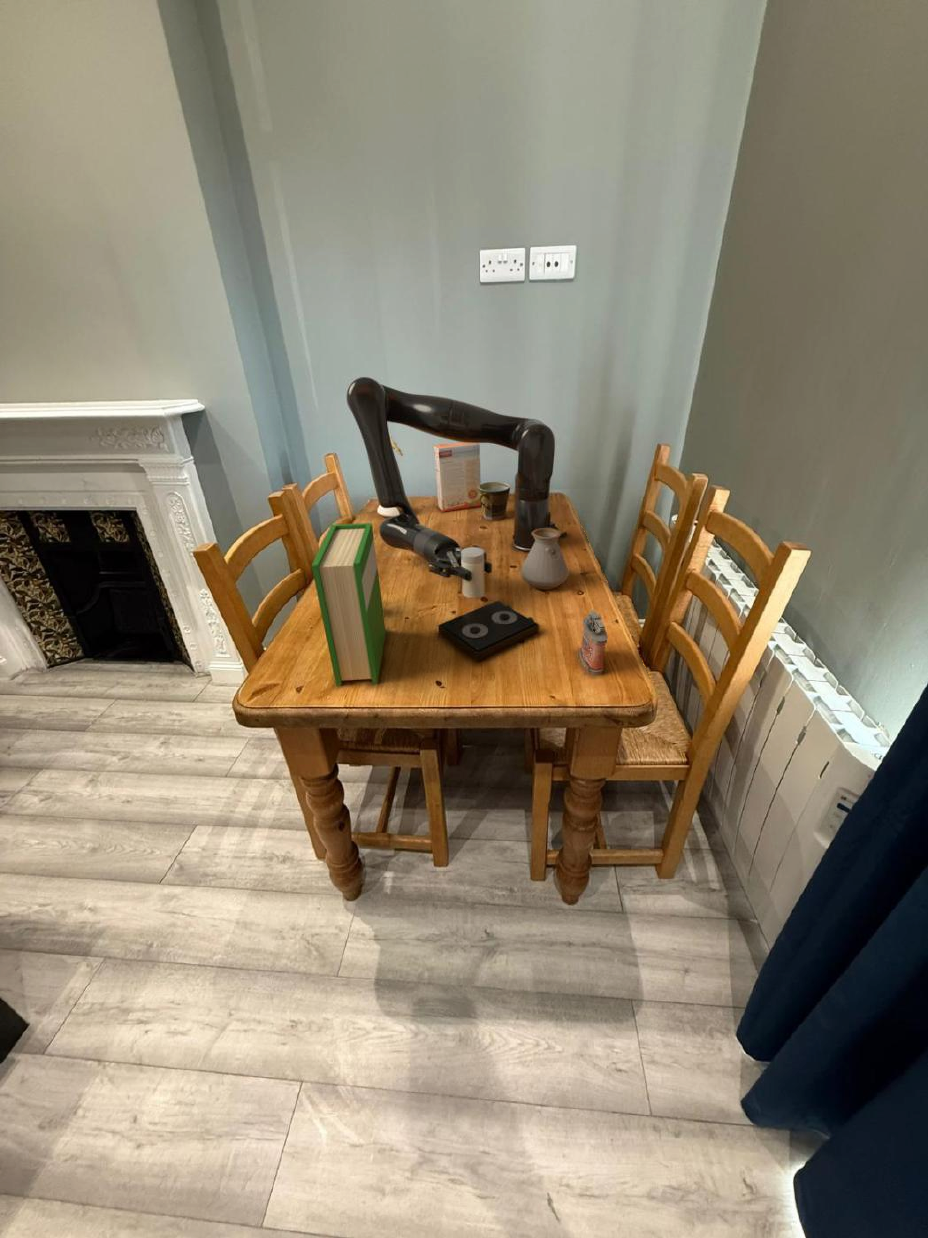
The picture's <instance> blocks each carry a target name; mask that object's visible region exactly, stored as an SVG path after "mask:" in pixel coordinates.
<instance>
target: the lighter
mask: <svg viewBox="0 0 928 1238" xmlns="http://www.w3.org/2000/svg"><path fill="white" fill-rule="evenodd" d="M582 627H583V628H582V635H581V644H580V648H579V658H580V661H581V664H582V665H583V667H584V668H585V670H586V671H587V672H588V673H589V674H591V675H593V676H600V675H602V674H603V673H604V658H605V651H606V644H607V643H608V634H607V631H606V626H605V624H604V623H603V621H602V616H601V614H600V613H599V614H598V613H597V611H596V610H589V612H588V616H587V617H584V618H583V619H582Z"/></svg>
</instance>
